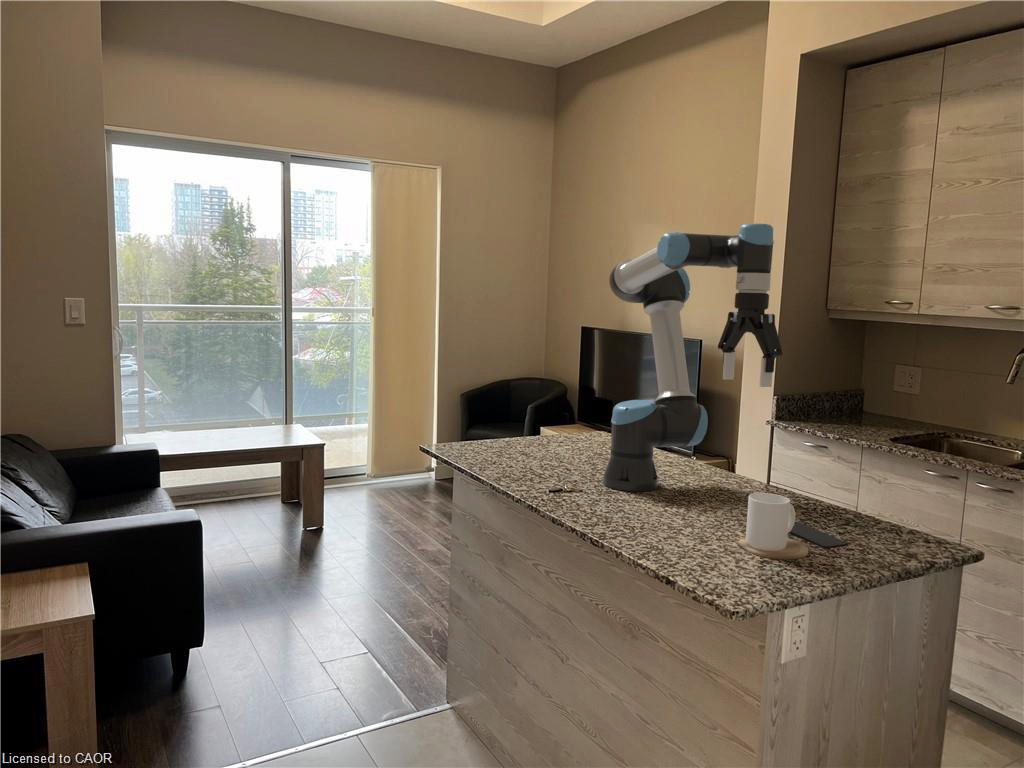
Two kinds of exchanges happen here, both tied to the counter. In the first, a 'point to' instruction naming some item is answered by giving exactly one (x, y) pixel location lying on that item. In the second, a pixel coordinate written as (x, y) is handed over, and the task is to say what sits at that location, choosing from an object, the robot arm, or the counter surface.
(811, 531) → the smartphone
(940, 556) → the counter surface
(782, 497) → the mug
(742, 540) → the coaster
